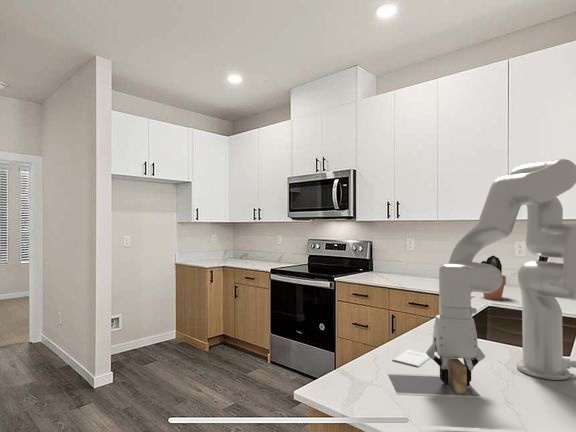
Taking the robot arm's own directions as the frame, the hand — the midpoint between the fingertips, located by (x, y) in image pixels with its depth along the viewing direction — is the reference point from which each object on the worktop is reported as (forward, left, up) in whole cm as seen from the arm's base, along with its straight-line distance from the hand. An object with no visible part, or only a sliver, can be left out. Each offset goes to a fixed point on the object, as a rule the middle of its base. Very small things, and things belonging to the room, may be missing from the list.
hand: (455, 382), depth 95 cm
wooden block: (0, 0, -1) cm, 1 cm away
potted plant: (-66, -127, -2) cm, 143 cm away
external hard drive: (+6, -19, -2) cm, 20 cm away
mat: (+6, 0, -1) cm, 6 cm away
